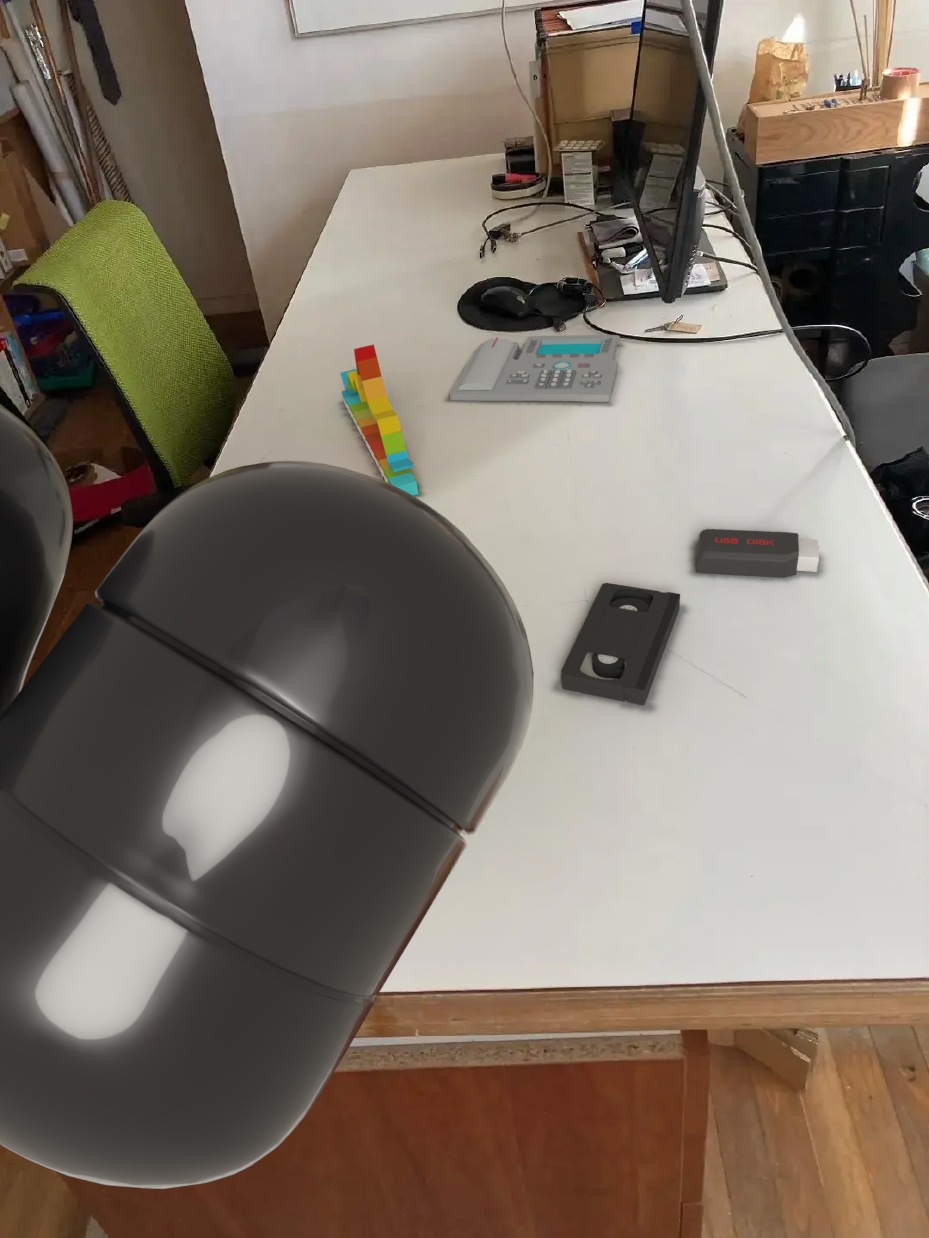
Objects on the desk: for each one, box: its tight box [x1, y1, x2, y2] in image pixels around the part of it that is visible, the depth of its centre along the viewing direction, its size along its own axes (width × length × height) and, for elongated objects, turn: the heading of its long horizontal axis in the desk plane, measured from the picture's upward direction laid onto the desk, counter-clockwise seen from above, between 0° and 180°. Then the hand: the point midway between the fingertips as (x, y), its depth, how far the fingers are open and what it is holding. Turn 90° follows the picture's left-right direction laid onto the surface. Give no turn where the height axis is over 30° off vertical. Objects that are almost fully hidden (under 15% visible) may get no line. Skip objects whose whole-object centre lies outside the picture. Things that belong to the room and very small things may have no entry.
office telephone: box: [448, 334, 621, 403], centre depth 139 cm, size 23×3×20 cm
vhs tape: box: [560, 582, 681, 706], centre depth 89 cm, size 14×8×2 cm, turn 157°
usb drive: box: [695, 528, 820, 578], centre depth 97 cm, size 5×12×3 cm, turn 76°
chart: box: [339, 344, 419, 497], centre depth 122 cm, size 30×3×15 cm, turn 18°
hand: (264, 771), depth 47 cm, fingers closed
